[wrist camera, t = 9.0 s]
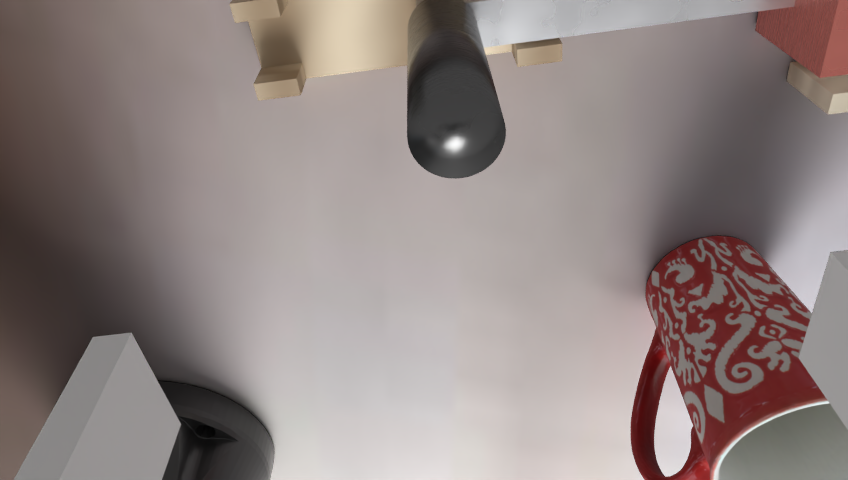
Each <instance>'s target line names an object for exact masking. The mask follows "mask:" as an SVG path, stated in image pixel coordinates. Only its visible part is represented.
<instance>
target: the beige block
mask: <svg viewBox="0 0 848 480" xmlns="http://www.w3.org/2000/svg"><path fill="white" fill-rule="evenodd" d="M787 82H788V83H790V84H791V85H792V86H793V87H794V88H796V89H797V90H798V91H799V92H801V93H802V94H803V95H804V96H806V97H807V98H808V99H809V100H811V101H812V102H813V103H814V104H815V105H817V106H818V107H819V108H820V109H822V110H823V111H824V112H825V113H827V114H836V113H844V112H848V75H840V76H832V77H824V78H819V77H818V76H816V75H815V74H814V73H812V72H811V71H810V70H808V69H807V68H806V67H804V66H803V65H801V64H800V63H799V62H797V61H796V62H790V67H789V72H788V76H787Z"/></svg>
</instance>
